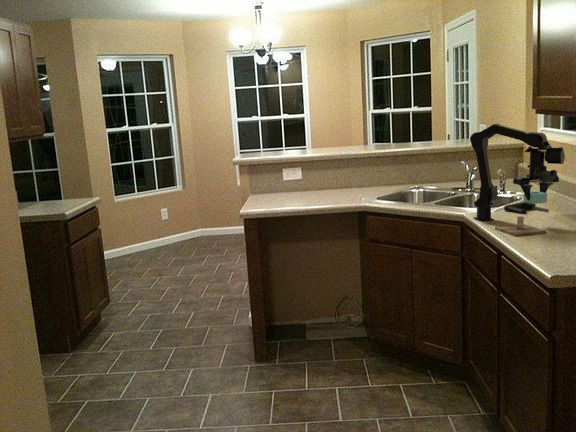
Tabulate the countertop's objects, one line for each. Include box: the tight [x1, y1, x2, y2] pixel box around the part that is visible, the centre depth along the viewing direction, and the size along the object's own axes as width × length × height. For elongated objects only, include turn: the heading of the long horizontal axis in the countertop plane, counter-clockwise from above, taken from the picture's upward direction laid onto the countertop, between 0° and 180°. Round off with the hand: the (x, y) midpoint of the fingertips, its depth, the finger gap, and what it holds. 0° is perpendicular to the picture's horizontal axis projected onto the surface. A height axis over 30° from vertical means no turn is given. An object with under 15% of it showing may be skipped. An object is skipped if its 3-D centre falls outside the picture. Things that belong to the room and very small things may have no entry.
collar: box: [523, 190, 548, 205], centre depth 250 cm, size 6×6×4 cm
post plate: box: [494, 215, 547, 237], centre depth 241 cm, size 14×14×6 cm
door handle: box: [503, 201, 550, 215], centre depth 283 cm, size 3×20×16 cm
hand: (535, 199), depth 250 cm, fingers closed on collar, 6 cm apart
